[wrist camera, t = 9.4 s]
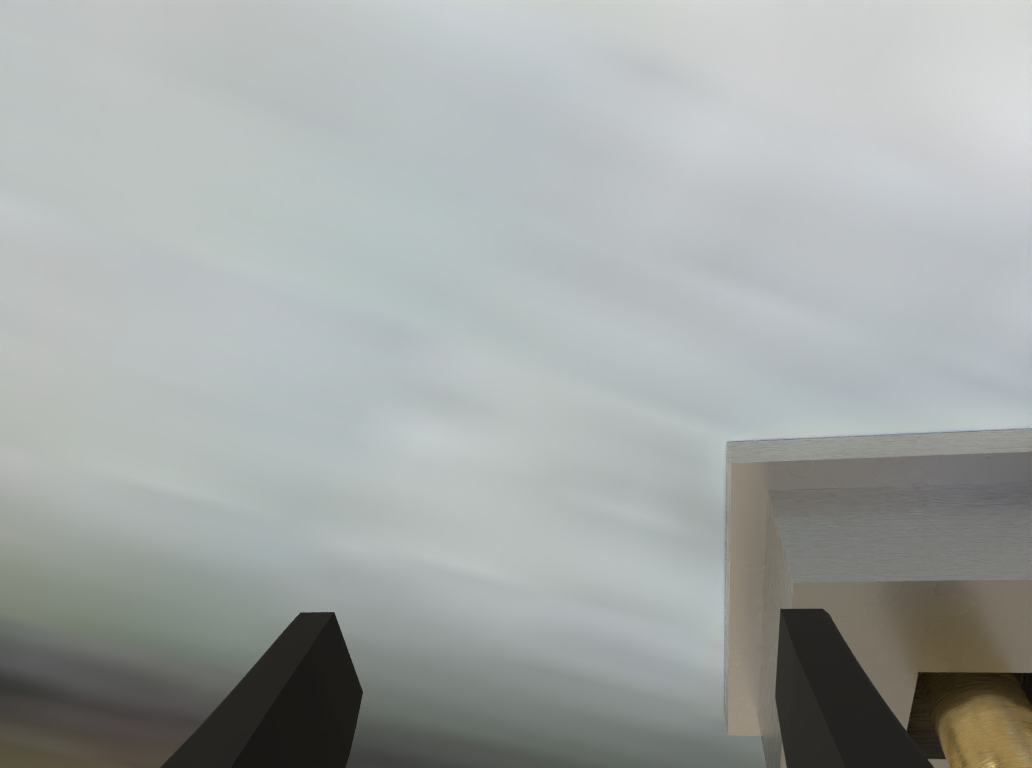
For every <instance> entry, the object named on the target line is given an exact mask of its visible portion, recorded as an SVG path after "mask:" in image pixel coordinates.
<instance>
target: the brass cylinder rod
mask: <svg viewBox="0 0 1032 768" xmlns="http://www.w3.org/2000/svg"><path fill="white" fill-rule="evenodd" d="M916 685H917V688H918V690H919V693H920V695H921V698H922V700H923V703H924V705H925V708H926V710H927V713H928V715H929V718H930V720H931V723H932V725H933V728H934V730H935V732H936V735H937V737H938V740H939V742H940V745H941V747H942V750H943V752H944V755H945V757H946V760H947V762H948V765H949V767H950V768H1032V706H1031V704H1030V702H1029V700H1028V699H1027V697H1026V695H1025V693H1024V691H1023V689H1022V688H1021V686H1020V684H1019V682H1018V680H1017V678H1016V676H1015V675H1014V673H979V672H918V677H917V682H916Z"/></svg>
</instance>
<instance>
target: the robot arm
mask: <svg viewBox="0 0 1032 768" xmlns="http://www.w3.org/2000/svg"><path fill="white" fill-rule="evenodd" d="M362 694H363V691H362V688H361V686H360V683H359V680H358V677H357V674H356V672H355V669H354V666H353V663H352V660H351V658H350V655H349V652H348V649H347V646H346V644H345V641H344V638H343V635H342V633H341V630H340V627H339V624H338V621H337V619H336V616H335V613H334V612H311V613H300V614H299V615H298V616H297V617H296V618H295V619H294V620H293V621H292V623H291V624H290V625H289V626H288V627H287V628H286V629H285V630H284V632H283V633H282V634H281V635H280V636H279V637H278V638H277V640H276V641H275V642H274V643H273V644H272V645H271V647H270V648H269V649H268V650H267V651H266V652H265V654H264V655H263V656H262V657H261V658H260V659H259V660H258V662H257V663H256V664H255V665H254V666H253V667H252V669H251V670H250V671H249V672H248V673H247V674H246V675H245V677H244V678H243V679H242V680H241V681H240V682H239V683H238V685H237V686H236V687H235V688H234V689H233V690H232V691H231V692H230V694H229V695H228V696H227V697H226V698H225V699H224V700H223V701H222V702H221V704H220V705H219V706H218V707H217V708H216V709H215V710H214V711H213V712H212V714H211V715H210V716H209V717H208V718H207V719H206V720H205V721H204V722H203V724H202V725H201V726H200V727H199V728H198V729H197V730H196V731H195V732H194V733H193V734H192V735H191V736H190V737H189V738H188V740H187V741H186V742H185V743H184V744H183V745H182V746H181V747H180V748H179V749H178V750H177V751H176V752H175V753H174V754H173V755H172V756H171V757H170V758H169V759H168V760H167V761H166V762H165V763H164V764H163V765H162V766H161V767H160V768H345V767H346V764H347V761H348V758H349V754H350V750H351V746H352V741H353V737H354V733H355V728H356V724H357V719H358V714H359V709H360V704H361V699H362ZM775 700H776V706H777V712H778V719H779V725H780V731H781V737H782V743H783V749H784V755H785V760H786V766H787V768H934V767H933V765H932V764H931V763H930V762H929V760H928V759H927V758H926V756H925V755H924V754H923V753H922V751H921V750H920V749H919V747H918V746H917V745H916V743H915V742H914V741H913V739H912V738H911V736H910V735H909V734H908V732H907V731H906V730H905V728H904V727H903V726H902V724H901V723H900V722H899V720H898V719H897V717H896V716H895V715H894V713H893V712H892V711H891V709H890V708H889V707H888V705H887V704H886V702H885V701H884V699H883V698H882V697H881V695H880V694H879V692H878V691H877V689H876V688H875V686H874V685H873V683H872V682H871V680H870V679H869V677H868V676H867V674H866V673H865V671H864V670H863V668H862V667H861V665H860V664H859V662H858V661H857V659H856V658H855V656H854V655H853V653H852V651H851V650H850V648H849V647H848V645H847V643H846V642H845V640H844V638H843V637H842V635H841V633H840V632H839V630H838V628H837V627H836V625H835V623H834V622H833V620H832V618H831V616H830V614H829V613H827V612H826V611H825V610H824V609H780V622H779V639H778V655H777V671H776V687H775Z"/></svg>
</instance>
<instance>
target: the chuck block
mask: <svg viewBox="0 0 1032 768" xmlns="http://www.w3.org/2000/svg"><path fill="white" fill-rule="evenodd" d="M780 609H824V610H825V611H826V612H827V613H829V614H830V616H831V618H832V620H833V622H834V623H835V625H836V627H837V628H838V630H839V632H840V633H841V635H842V637H843V638H844V640H845V642H846V643H847V645H848V647H849V648H850V650H851V651H852V653H853V655H854V656H855V658H856V659H857V661H858V662H859V664H860V665H861V667H862V668H863V670H864V671H865V673H866V674H867V676H868V677H869V679H870V680H871V682H872V683H873V685H874V686H875V688H876V689H877V691H878V692H879V694H880V695H881V697H882V698H883V699H884V701H885V702H886V704H887V705H888V707H889V708H890V709H891V711H892V712H893V713H894V715H895V716H896V717H897V719H898V720H899V722H900V723H901V724H902V726H903V727H904V728H905V730H906V731H907V732H908V734H909V735H910V736H911V738H912V739H913V741H914V742H915V743H916V745H917V746H918V747H919V749H920V750H921V751H922V753H923V754H924V755H925V756H926V758H927V759H928V760H929V762H930V763H931V764H932V765H933V767H934V768H950V767H949V765H948V762H947V760H946V757H945V755H944V752H943V750H942V747H941V745H940V742H939V740H938V737H937V735H936V732H935V730H934V728H933V725H932V723H931V720H930V718H929V715H928V713H927V710H926V708H925V705H924V703H923V700H922V698H921V695H920V693H919V690H918V688H917V685H916V682H917V677H918V672H979V673H1014V675H1015V676H1016V678H1017V680H1018V682H1019V684H1020V686H1021V688H1022V689H1023V691H1024V693H1025V695H1026V697H1027V699H1028V700H1029V702H1030V704H1031V706H1032V429H1019V430H996V431H973V432H950V433H927V434H903V435H880V436H857V437H834V438H811V439H788V440H765V441H741V442H727V472H726V577H725V681H724V712H725V719H726V726H727V733H728V735H747V736H761V738H762V743H763V749H764V754H765V760H766V765H767V768H787V766H786V760H785V755H784V749H783V743H782V737H781V731H780V725H779V719H778V712H777V706H776V700H775V687H776V671H777V655H778V639H779V622H780Z"/></svg>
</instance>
